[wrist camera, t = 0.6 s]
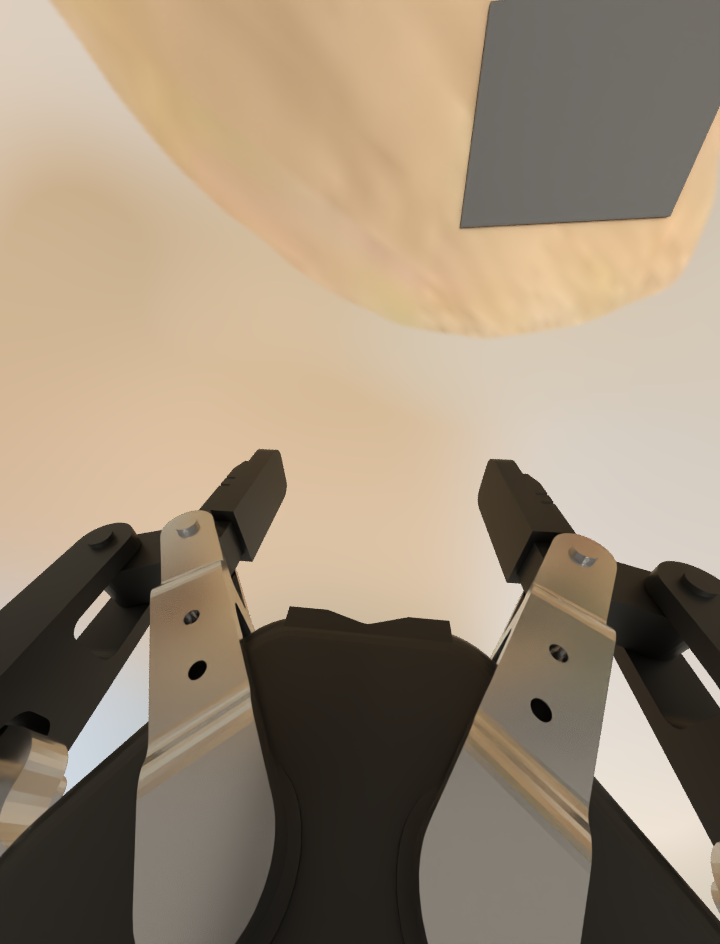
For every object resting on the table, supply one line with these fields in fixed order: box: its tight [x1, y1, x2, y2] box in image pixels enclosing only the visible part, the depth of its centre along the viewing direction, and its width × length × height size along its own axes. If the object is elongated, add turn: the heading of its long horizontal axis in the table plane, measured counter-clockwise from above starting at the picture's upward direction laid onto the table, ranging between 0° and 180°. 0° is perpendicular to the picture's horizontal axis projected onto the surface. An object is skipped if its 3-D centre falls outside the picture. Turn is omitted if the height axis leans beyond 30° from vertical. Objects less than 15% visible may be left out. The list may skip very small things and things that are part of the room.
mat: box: [460, 0, 720, 228], centre depth 22 cm, size 12×18×1 cm, turn 91°
